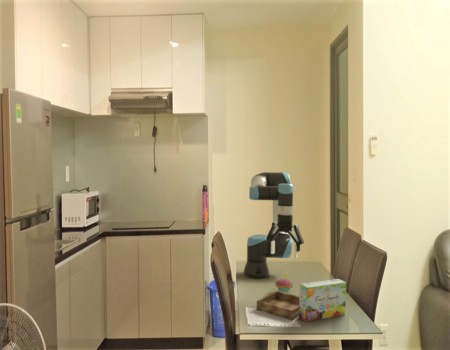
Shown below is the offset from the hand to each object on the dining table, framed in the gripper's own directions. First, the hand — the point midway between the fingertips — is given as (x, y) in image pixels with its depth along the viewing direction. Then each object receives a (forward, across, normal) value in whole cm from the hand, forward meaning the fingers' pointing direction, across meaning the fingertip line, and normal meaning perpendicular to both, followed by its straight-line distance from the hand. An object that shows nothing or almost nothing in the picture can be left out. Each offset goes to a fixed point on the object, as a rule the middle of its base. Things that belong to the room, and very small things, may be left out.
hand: (284, 255), depth 192 cm
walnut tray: (+20, +10, -18) cm, 28 cm away
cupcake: (+20, 0, 0) cm, 20 cm away
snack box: (+20, +27, -15) cm, 37 cm away
